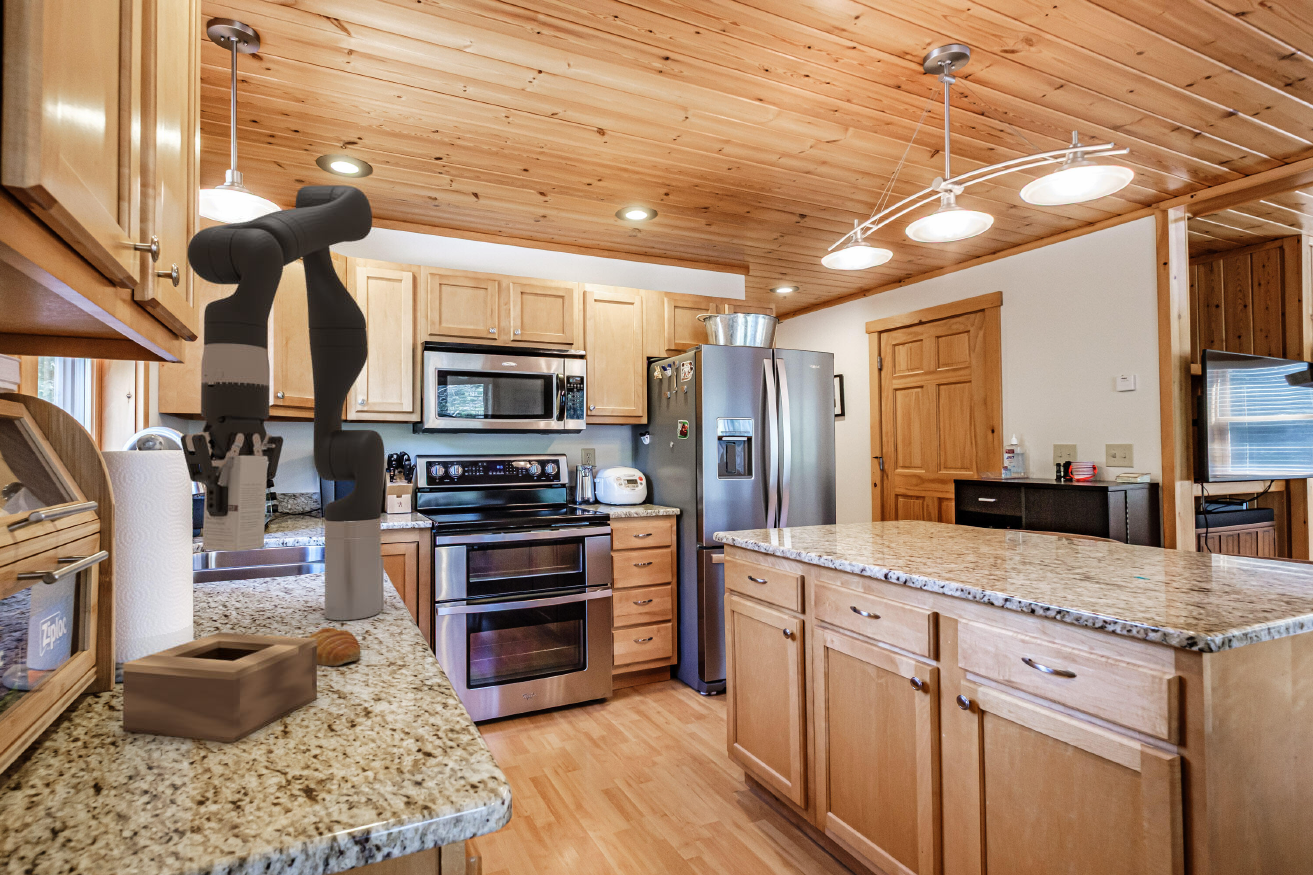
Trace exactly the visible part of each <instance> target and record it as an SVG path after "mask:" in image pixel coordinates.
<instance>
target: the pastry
mask: <svg viewBox="0 0 1313 875" xmlns="http://www.w3.org/2000/svg"><path fill="white" fill-rule="evenodd" d="M307 638H314V639H317V665H320V666H324V667H331V666H335V667H338V666H342V665H343V664H346V663H349V662H355V661H358V659H359V657H360V656H361V653H362V652H361V645H360V644H359V641H358V639H357V638H356V637H355V636H354V634H353V633H352V632H349V630H345V629H344V630H343V629H341V630H340V629H338V628H333V627H325V628H321V629H319V630H317V631H316V632H313V633H311V634H310V635H309V636H308V637H307Z"/></svg>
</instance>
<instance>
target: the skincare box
mask: <svg viewBox="0 0 1313 875" xmlns="http://www.w3.org/2000/svg"><path fill="white" fill-rule="evenodd" d="M233 459H234V466H233V468H232V469H231V471H230V474H229V478H228V481H227V484H226V485H225V486H224V487H228V514H227V515H226V516H222V517H212V516H210V515H209V512H208V511H207V488H206V486H205V485H204V506H203V529H202V549H203V550H208V551H209V550H210V551H221V552H245V551H252V550H257V549H261V548H264V546H265V545H264V544H265V523H266V500H267V481H268V480H267V467H268V462H267V460H268V458H267V457H266V456H245V455H242V456H234V458H233ZM223 460H224V459H223ZM216 461H222V460H220V459H218V458H217V457H216ZM218 472H219V470H218V471H217V474H216V475H218Z"/></svg>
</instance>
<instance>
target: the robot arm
mask: <svg viewBox="0 0 1313 875" xmlns="http://www.w3.org/2000/svg"><path fill="white" fill-rule="evenodd" d="M294 204H295V207H294V208H289V209H281V210H277V211H273V212H269V213H267V214H264V215H262V216H261V215H260V216H258V217H256V218H254V219H252V220H248V221H243V222H235V223H226V224H220V225H215V226H210V227H207V228H204V229H202V230H200V231H198V232H197V233H195V235H194V236H193V237H192V238H191V239H190V241H189V243H188V247H187V253H186V254H187V259H188V262H189V265H190V267H191V269H192V270H193V271H194V272H195V274H196V275H197V276H198V277H199V278H201V279H202V280H205V282H206V281H207V282H209V283H212V284H216V285H237V288H236V289H235V291H234V293H233V294H231V295H230V296H227V297H224V298H220V299H217V300H214V301H211V302H209V303H208V304H207V305H206V306H205V309H204V315H203V345H204V346H203V352H202V357H201V363H200V365H201V366H200V367H201V368H200V370H201V372H200V373H201V374H200V375H201V376H200V378H201V379H200V384H201V385H200V415H201V417H202V418H203V419H204V420H205V424H204V426H203V428H202V431H201V432H197V433H191V434H182V435H181V437H180V443H181V447H182V451H183V455H184V459H185V463H186V466H187V470H188V474H189V475H188V476H189V478H190V481H192V482H194V483H196V482H197V483H199V484H202V485H204V487H205V486H206V488H207V511H208V512H209V515H210V516H212V517H222V516H226V515H227V514H228V487H224V486H225V485H226V484H227V481H228V478H229V474H230V471H231V469H232V468H233V466H234V459H233V458H234V456H242V455H245V456H266V457H267V458H268V460H267V481H268V480H269V479H274V478H276V476H277V470H278V466H279V462H280V458H281V453H282V449H283V445H284V438H283V437H282V436H281V435H280V436H279V435H277V436H273V435H270V434H269V433H267V430H266V428H265V420H267V419H268V418H270V389H271V388H270V386H271V385H270V382H271V381H270V380H271V378H270V370H271V368H270V360H269V355H268V354H269V352H268V350H269V349H268V346H269V344H268V343H269V342H268V340H269V339H268V336H269V335H268V333H269V332H268V329H269V328H268V327H269V326H268V324H269V318H270V313H271V310H272V308H273V307H272V306H273V304H274V300H275V297H276V294H277V291H278V288H279V284H280V283H281V278H282V276H283V272H284V267H285V266H288V265H290V264H292V263H293V262H295V261H298V260H299V259H302V265H303V272H304V278H305V289H306V300H307V301H306V302H307V320H308V321H307V322H308V323H307V325H308V336H309V337H308V338H309V339H308V340H309V349H310V350H309V352H310V357H311V368H312V369H311V370H312V371H311V372H312V382H313V402H314V404H313V406H314V407H313V408H314V409H313V459H314V465H315V469H316V471H317V475H318V476H319V477H320V478H321V479H323V480H324V481H328V482H329V481H330V482H335V481H336V482H345V481H346V482H348V481H349V482H351V481H352V482H355V484H354V487H353V490H352V491H351V492H350V493H349V494H347V495H346V496H344V497H341V498H339V499H337V500H334V501H331V502H328V503H327V504H326V505H325V507H324V618H326V619H327V620H330V621H352V620H359V619H366V618H370V617H374V616H376V615H378V614H381V612H382V609H384V606H385V605H384V602H385V600H384V594H385V593H384V588H385V587H384V581H385V580H384V576H385V575H384V573H385V572H384V561H385V560H384V558H383V556H382V531H381V530H382V527H381V525H382V518H381V517H382V515H381V514H382V506H383V505H382V504H383V496H384V495H383V494H384V473H385V472H384V471H385V455H386V454H385V445H384V441H383V439H382V436H381V435H380V433H379V432H378V431H376V430H372V429H343V427H342V423H343V422H342V420H343V410H344V406H345V402H346V398H347V397H348V394H349V393H350V392H351V391H350V390H351V389H352V387H353V386H354V384H355V383H356V381H357V379H358V378H359V376H360V375H361V372H362V371H363V369H364V366H365V364H366V362H367V360H368V356H369V355H368V354H369V350H368V349H369V348H368V347H369V346H368V335H367V322H366V317H365V315H364V313H363V311H362V309H361V307H360V306H359V304H358V303H357V302H356V300H355V299H354V298H353V296H352V295H351V293H350V292H349V290H348V289H347V287H345V285H344V284H343V282H342V281H341V279H340V278H339V275H338V274H337V272H336V269H335V267H334V263H333V260H332V256H331V255H332V254H331V250H330V246H334V245H337V244H340V243H344V242H345V243H350V242H357V241H360V240H361V241H362V240H363V239H365V238H366V237H368V235H369V234H370V232H371V230H372V226H373V212H372V208H371V204H370V201H369V198H368V196H366V195H365V193H364V191H362V190H361V189H359V188H357V187H355V186H350V185H344V184H343V185H338V184H337V185H336V184H335V185H334V184H333V185H329V184H327V185H325V184H324V185H322V184H321V185H304V186H302V187H300V188H299V189H298V191H297V192H296V197H295V203H294ZM216 457H217V458H218V459H220V460H222V461H216ZM223 459H224V460H223ZM218 470H219V472H218V475H216V474H217V471H218Z"/></svg>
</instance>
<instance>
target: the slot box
mask: <svg viewBox="0 0 1313 875" xmlns="http://www.w3.org/2000/svg"><path fill="white" fill-rule="evenodd" d="M122 665H123V666H122V667H123V669H122V670H123V672H122V678H123V680H122V682H123V683H122V696H123V697H122V706H123V707H122V731H123V732H125V733H126V732H128V733H129V732H130V733H136V734H137V733H139V734H147V735H155V736H167V737H176V738H183V739H186V738H187V739H192V740H194V739H195V740H203V741H211V742H212V741H213V742H223V743H231V744H234V743H236V742H238V741H240V740H242V739H243V738H245V737H247V736H249V735H251V734H253V733H255V732H257V731H258V730H259V731H260V729H262V728H264V727H267V726H268V725H270V724H272V723H274V722H276V721H278V720H279V719H282V718H283V717H285V716H287V715H289V714H292V713H293V712H295V711H297V710H298V709H301V708H303V707H305V706H306V705H308V704H310V703H312V702H315V700H318V664H317V639H314V638H308V637H295V636H280V635H266V634H265V635H264V634H251V633H234V632H220V631H219V632H216V633H213V634H211V635H207V636H204V637H201V638H198V639H195V640H192V641H188V642H186V643H182V644H179V645H176V646H172V647H169V648H167V649H164V650H160V651H158V652H154V653H151V654H149V655H146V656H143V657H139V658H136V659H133V660H129V661H126V662H124V663H122Z"/></svg>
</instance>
